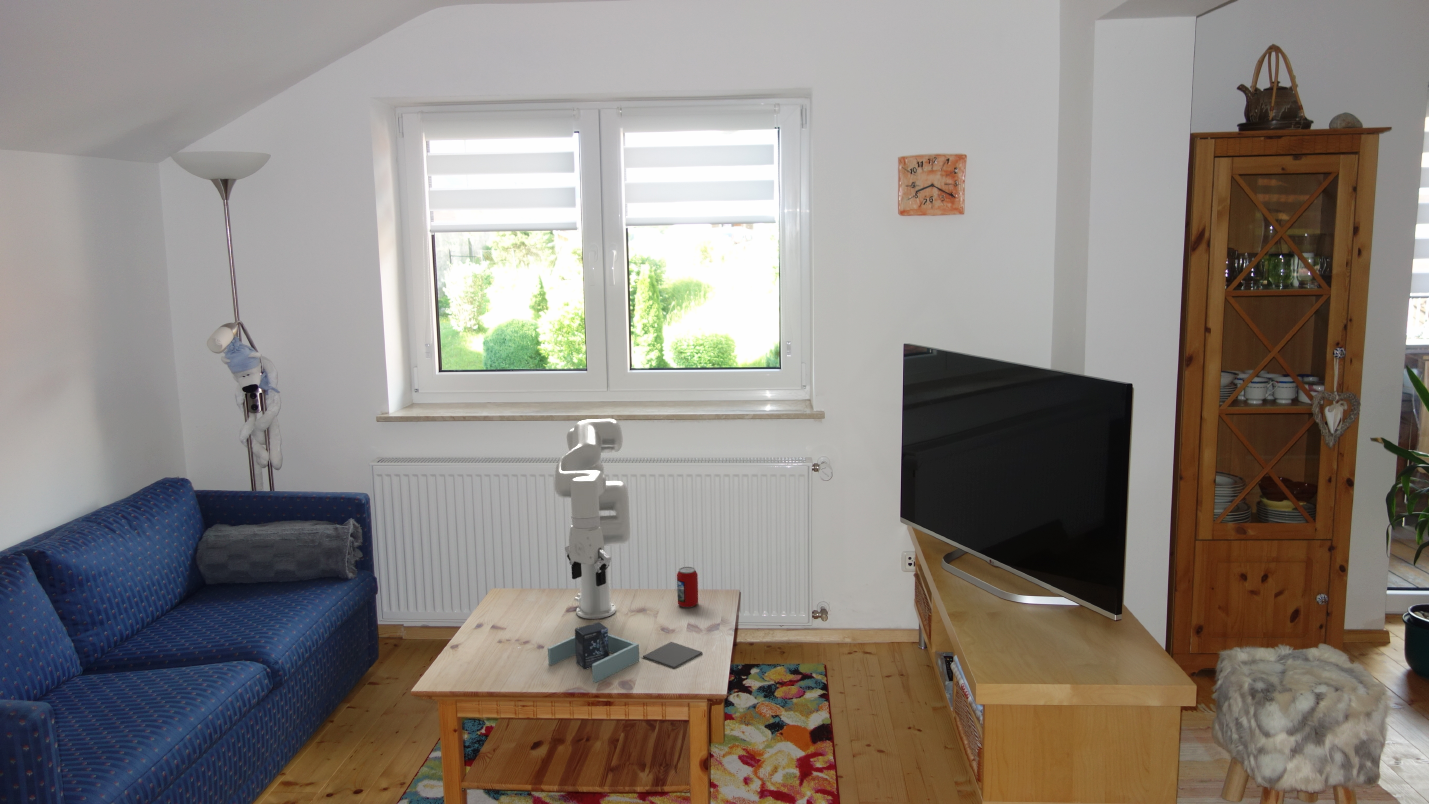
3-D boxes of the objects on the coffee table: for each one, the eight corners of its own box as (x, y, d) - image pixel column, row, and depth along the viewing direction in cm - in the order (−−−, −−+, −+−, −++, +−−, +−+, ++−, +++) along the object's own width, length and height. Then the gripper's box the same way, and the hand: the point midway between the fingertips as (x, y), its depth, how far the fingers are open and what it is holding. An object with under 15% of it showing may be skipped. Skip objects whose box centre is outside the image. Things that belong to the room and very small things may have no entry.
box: (584, 670, 259) (582, 634, 257) (575, 663, 263) (573, 627, 262) (609, 663, 263) (608, 627, 261) (600, 656, 268) (599, 621, 266)
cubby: (548, 664, 263) (547, 647, 262) (592, 643, 276) (592, 627, 275) (595, 682, 251) (594, 665, 250) (639, 660, 264) (638, 643, 263)
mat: (643, 657, 266) (642, 655, 266) (671, 643, 275) (671, 641, 275) (674, 668, 258) (674, 666, 258) (702, 653, 267) (702, 651, 267)
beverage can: (677, 601, 308) (676, 566, 306) (697, 600, 308) (696, 565, 306) (678, 609, 301) (677, 573, 299) (699, 607, 302) (698, 572, 300)
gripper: (554, 519, 259) (557, 578, 262) (597, 530, 248) (600, 591, 251) (574, 513, 265) (577, 571, 267) (618, 523, 254) (620, 583, 257)
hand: (588, 581), depth 259 cm, fingers open, 9 cm apart
